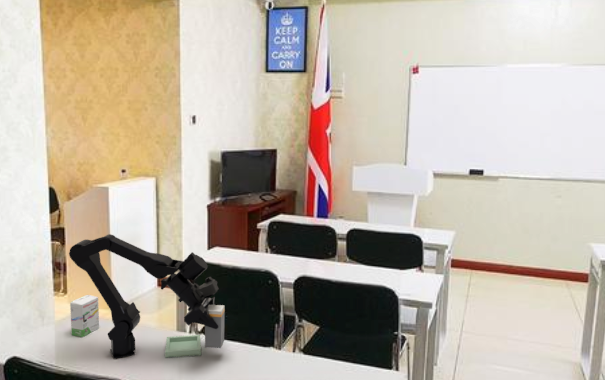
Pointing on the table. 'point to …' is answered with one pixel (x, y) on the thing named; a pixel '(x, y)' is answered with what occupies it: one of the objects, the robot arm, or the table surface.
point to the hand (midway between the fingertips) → (219, 324)
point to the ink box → (84, 315)
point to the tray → (183, 346)
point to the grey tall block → (215, 336)
